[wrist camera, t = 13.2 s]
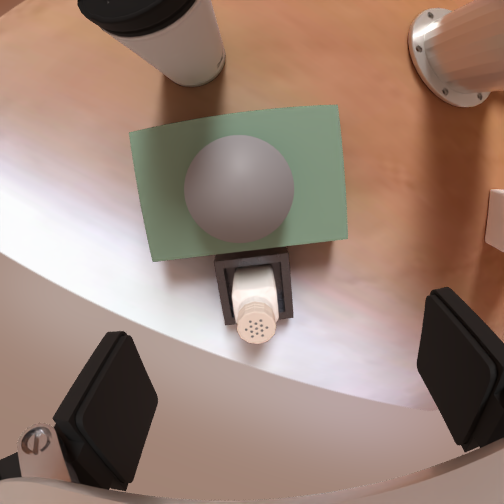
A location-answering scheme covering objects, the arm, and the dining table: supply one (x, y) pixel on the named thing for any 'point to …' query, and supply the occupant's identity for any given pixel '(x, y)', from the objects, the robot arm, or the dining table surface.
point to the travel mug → (165, 35)
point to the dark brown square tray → (231, 261)
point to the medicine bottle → (495, 220)
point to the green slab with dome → (241, 181)
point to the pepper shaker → (255, 302)
